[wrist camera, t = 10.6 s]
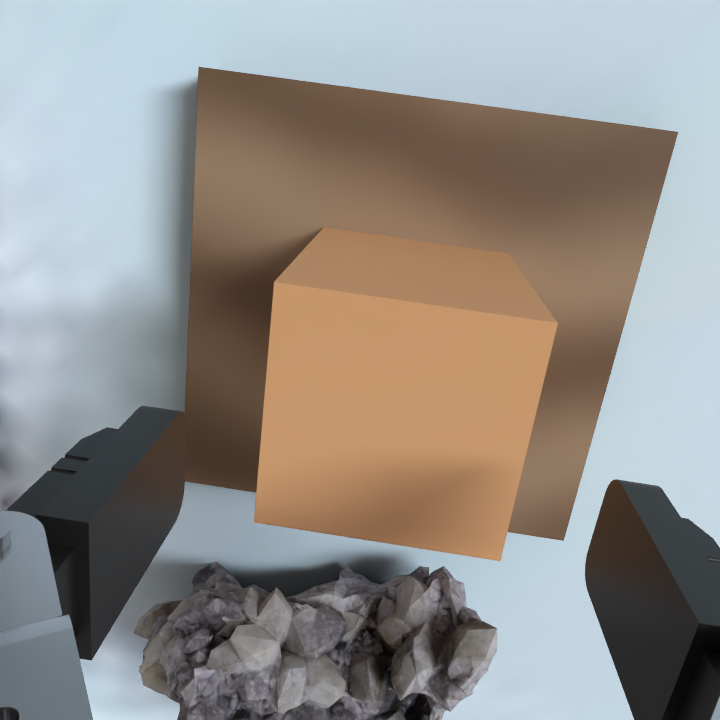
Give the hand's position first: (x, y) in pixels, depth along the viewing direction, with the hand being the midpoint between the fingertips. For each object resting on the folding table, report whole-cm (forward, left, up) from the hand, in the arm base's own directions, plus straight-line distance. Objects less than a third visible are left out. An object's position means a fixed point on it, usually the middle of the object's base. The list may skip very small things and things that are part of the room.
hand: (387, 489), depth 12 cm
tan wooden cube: (0, 0, -10) cm, 10 cm away
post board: (0, 0, -12) cm, 12 cm away
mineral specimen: (+13, -2, -12) cm, 18 cm away
